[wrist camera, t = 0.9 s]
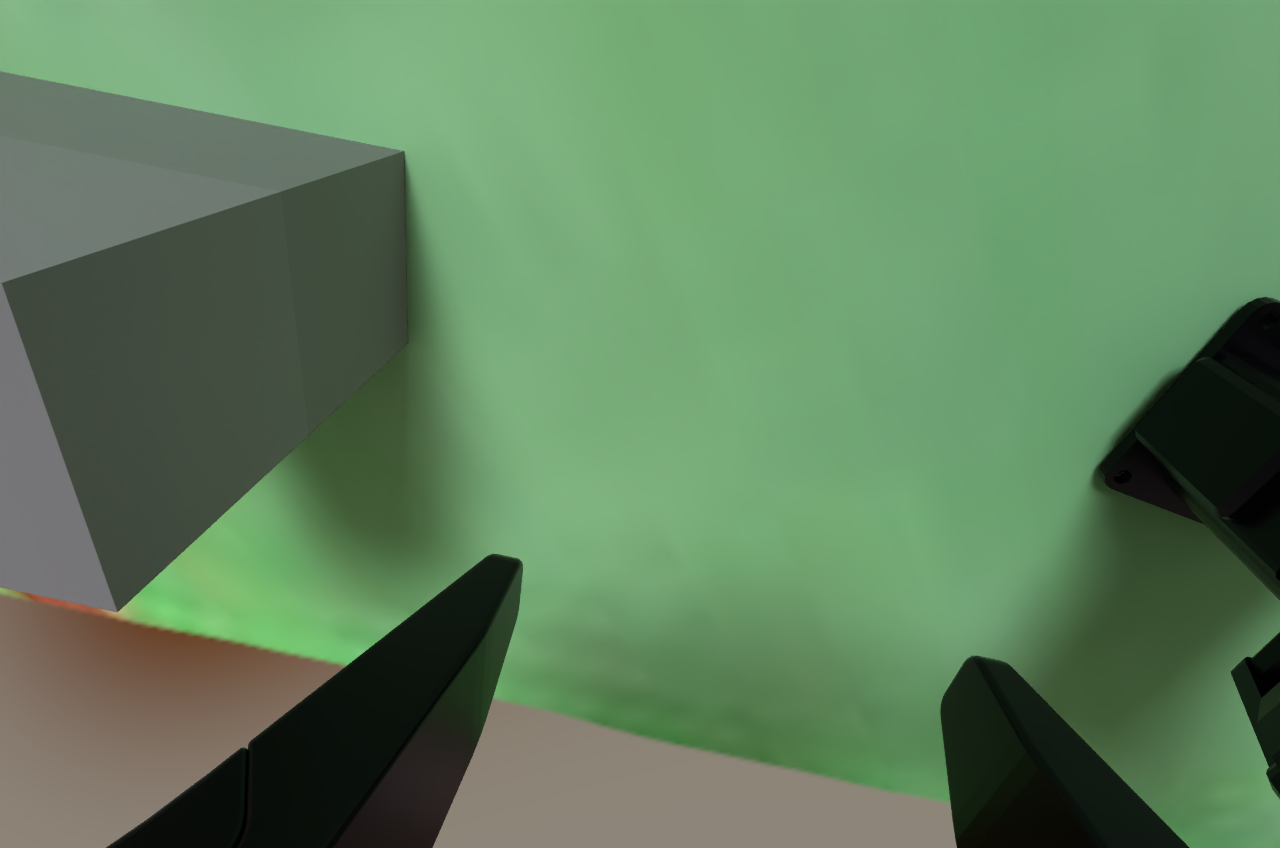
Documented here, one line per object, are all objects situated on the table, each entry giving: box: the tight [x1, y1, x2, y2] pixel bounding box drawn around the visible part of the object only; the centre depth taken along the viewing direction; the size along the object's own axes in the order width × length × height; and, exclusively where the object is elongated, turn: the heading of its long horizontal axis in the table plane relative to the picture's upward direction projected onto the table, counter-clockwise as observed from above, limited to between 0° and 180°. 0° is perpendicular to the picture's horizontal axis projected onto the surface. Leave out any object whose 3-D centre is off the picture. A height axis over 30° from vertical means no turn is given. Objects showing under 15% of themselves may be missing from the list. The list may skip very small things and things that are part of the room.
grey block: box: [0, 72, 408, 612], centre depth 15 cm, size 14×6×12 cm, turn 81°
